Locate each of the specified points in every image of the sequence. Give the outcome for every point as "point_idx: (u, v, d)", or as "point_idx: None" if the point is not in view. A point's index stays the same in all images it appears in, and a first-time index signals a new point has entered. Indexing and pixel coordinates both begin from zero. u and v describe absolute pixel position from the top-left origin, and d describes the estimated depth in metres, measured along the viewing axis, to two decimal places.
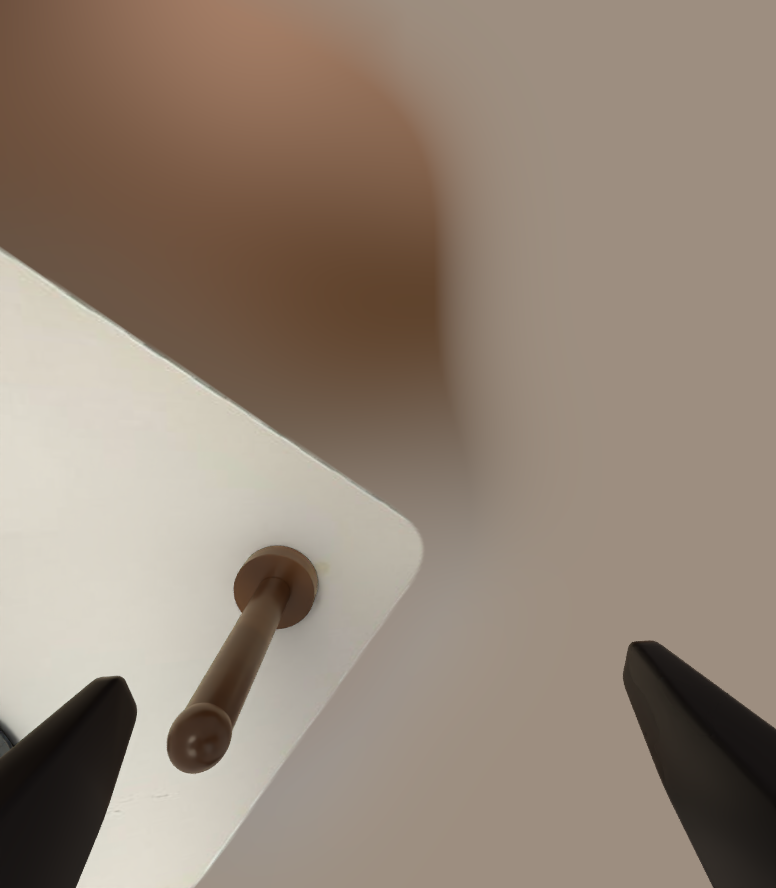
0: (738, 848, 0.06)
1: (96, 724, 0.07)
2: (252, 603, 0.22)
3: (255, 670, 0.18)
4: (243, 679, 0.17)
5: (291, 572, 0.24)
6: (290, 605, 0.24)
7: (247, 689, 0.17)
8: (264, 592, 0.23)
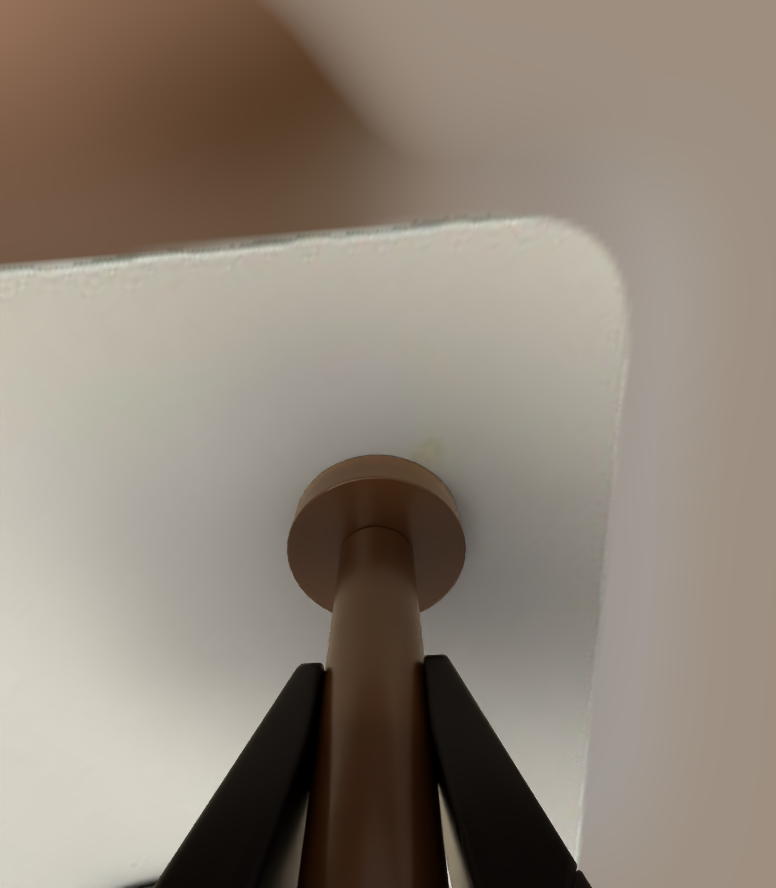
0: (455, 865, 0.06)
1: (317, 710, 0.07)
2: (333, 628, 0.08)
3: (431, 881, 0.05)
4: None
5: (377, 502, 0.10)
6: (424, 556, 0.11)
7: None
8: (347, 581, 0.09)
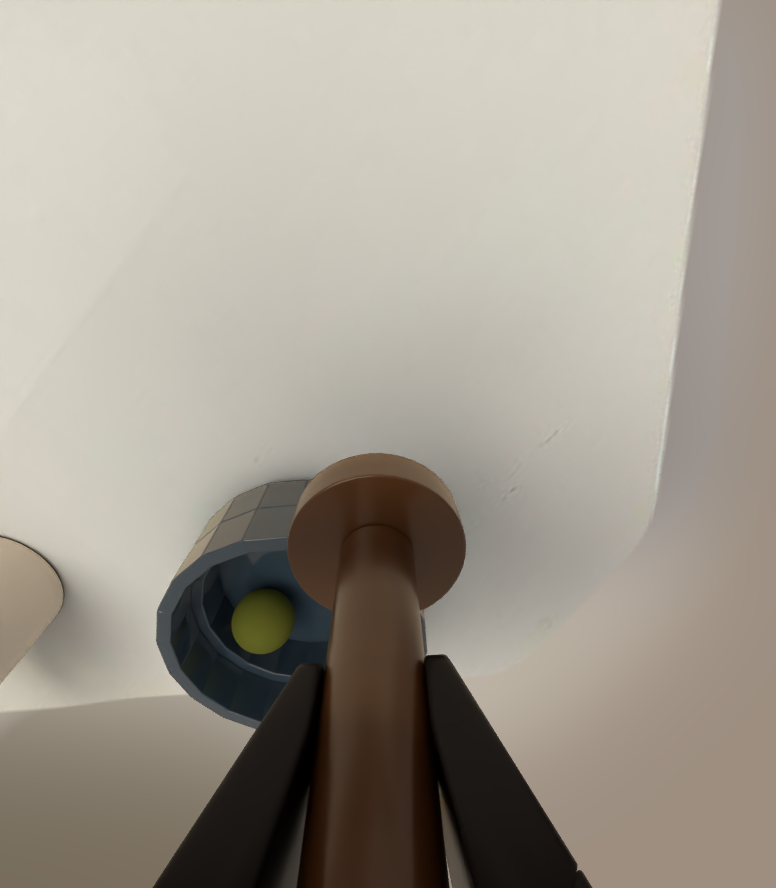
0: (455, 865, 0.06)
1: (317, 710, 0.07)
2: (333, 626, 0.08)
3: (431, 879, 0.05)
4: None
5: (377, 500, 0.10)
6: (424, 554, 0.11)
7: None
8: (347, 579, 0.09)
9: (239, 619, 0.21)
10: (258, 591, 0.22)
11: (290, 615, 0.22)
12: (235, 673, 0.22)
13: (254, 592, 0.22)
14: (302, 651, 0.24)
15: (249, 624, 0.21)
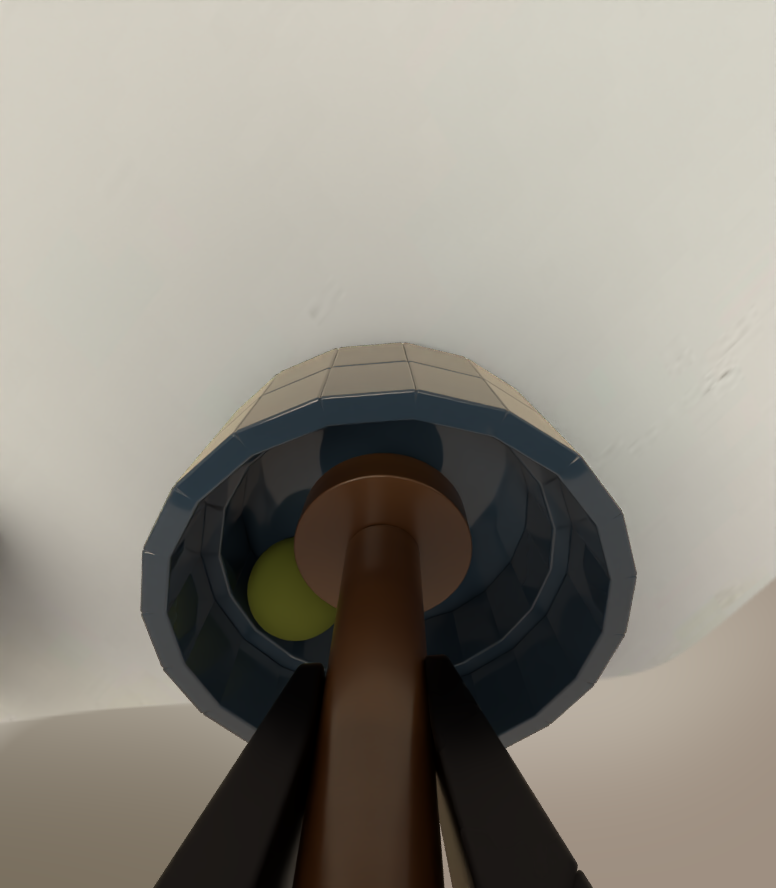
0: (456, 864, 0.06)
1: (318, 710, 0.07)
2: (336, 626, 0.08)
3: (424, 883, 0.05)
4: None
5: (381, 500, 0.10)
6: (430, 554, 0.11)
7: None
8: (351, 579, 0.09)
9: (256, 574, 0.13)
10: None
11: None
12: (271, 671, 0.13)
13: (290, 539, 0.13)
14: None
15: (266, 587, 0.12)
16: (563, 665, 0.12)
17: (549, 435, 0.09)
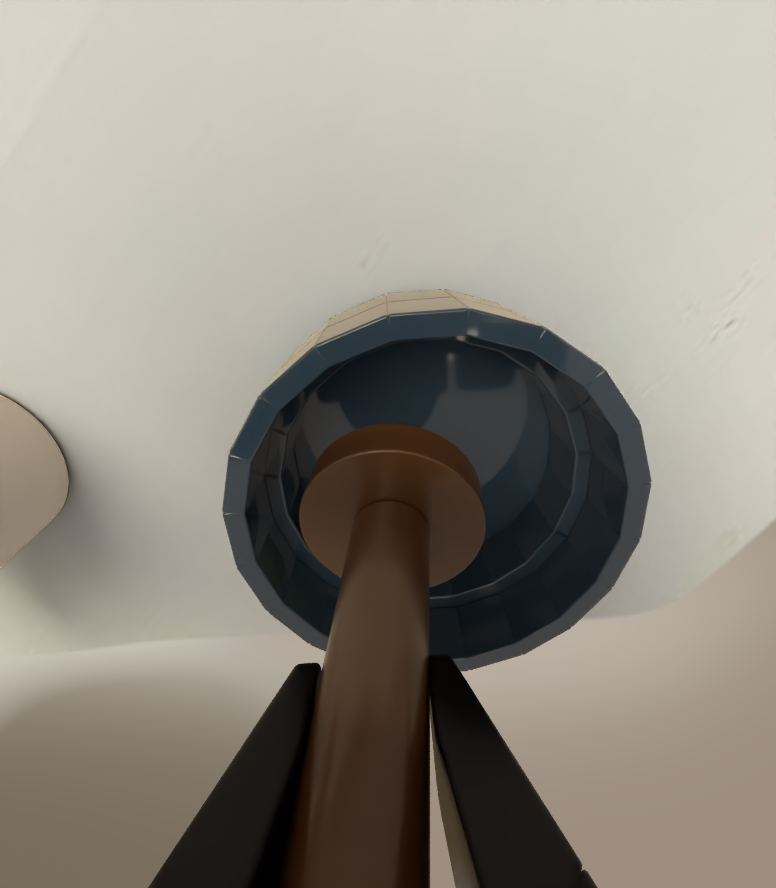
0: (459, 864, 0.06)
1: None
2: (342, 606, 0.08)
3: None
4: None
5: (404, 478, 0.10)
6: (439, 538, 0.11)
7: None
8: (361, 557, 0.09)
9: None
10: None
11: None
12: (321, 587, 0.15)
13: None
14: None
15: None
16: (583, 574, 0.13)
17: (579, 351, 0.10)
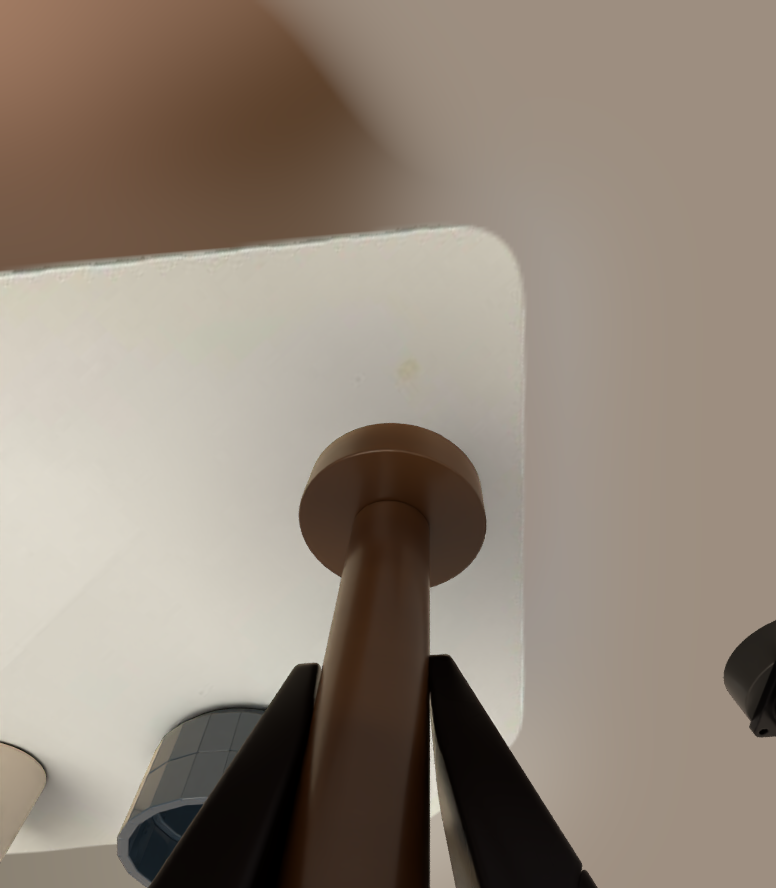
0: (459, 864, 0.06)
1: None
2: (341, 606, 0.08)
3: None
4: None
5: (404, 477, 0.10)
6: (439, 538, 0.11)
7: None
8: (361, 557, 0.09)
9: None
10: None
11: None
12: None
13: None
14: None
15: None
16: None
17: None
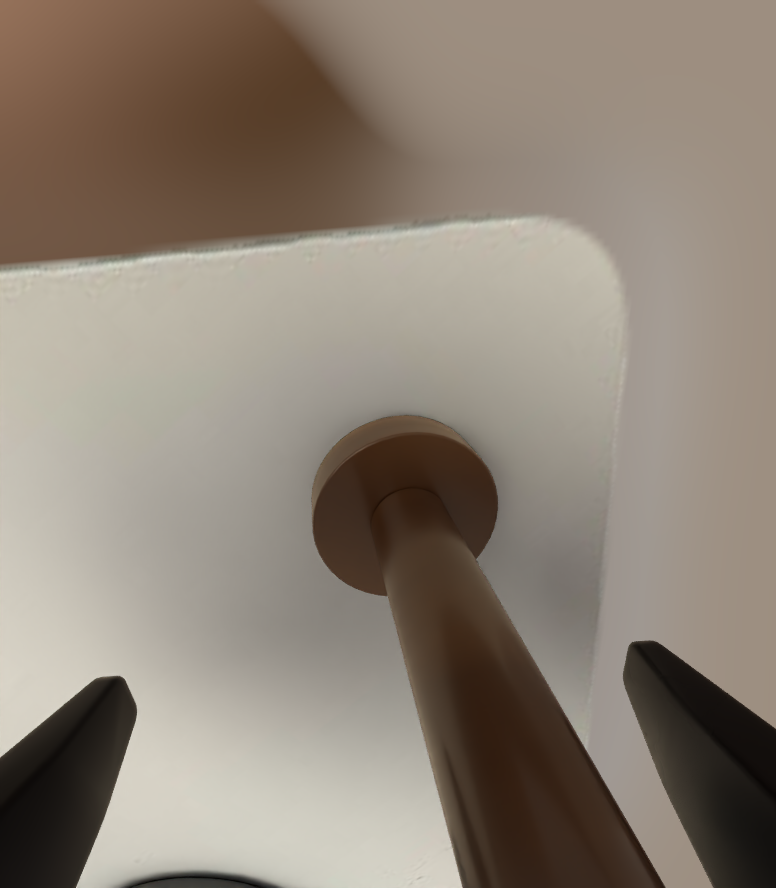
0: (738, 848, 0.06)
1: (96, 724, 0.07)
2: (403, 581, 0.08)
3: (622, 814, 0.04)
4: None
5: (421, 461, 0.10)
6: (455, 524, 0.11)
7: None
8: (404, 536, 0.08)
9: None
10: None
11: None
12: None
13: None
14: None
15: None
16: None
17: None
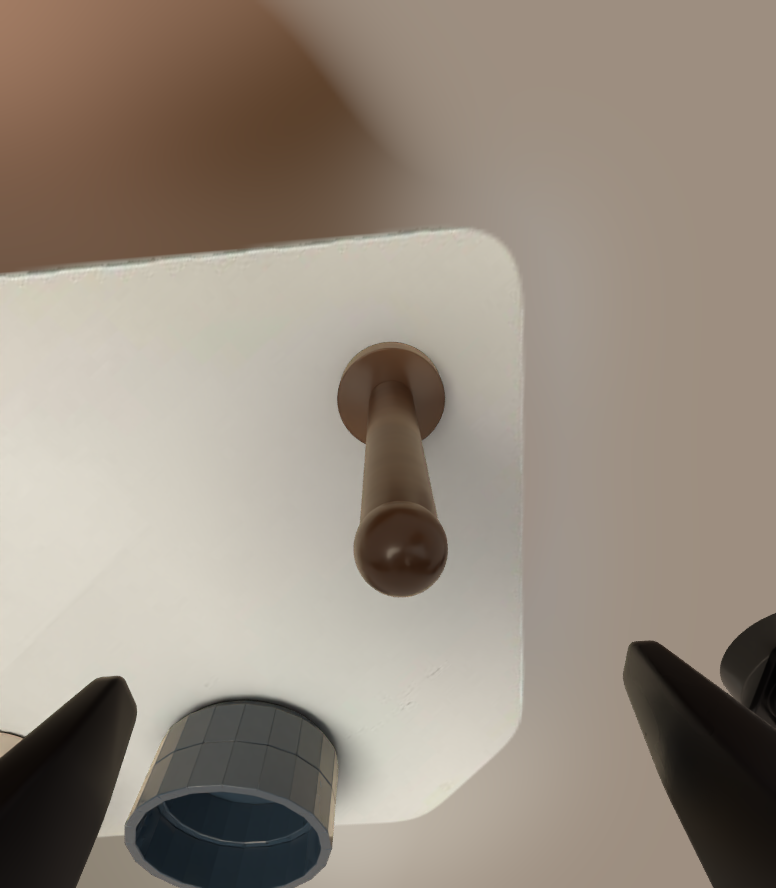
0: (738, 848, 0.06)
1: (96, 724, 0.07)
2: (372, 411, 0.16)
3: (423, 459, 0.12)
4: (415, 468, 0.11)
5: (397, 365, 0.18)
6: (419, 406, 0.18)
7: (427, 478, 0.11)
8: (379, 396, 0.16)
9: None
10: None
11: None
12: (189, 844, 0.28)
13: None
14: (246, 814, 0.30)
15: None
16: (316, 853, 0.26)
17: (276, 793, 0.23)
